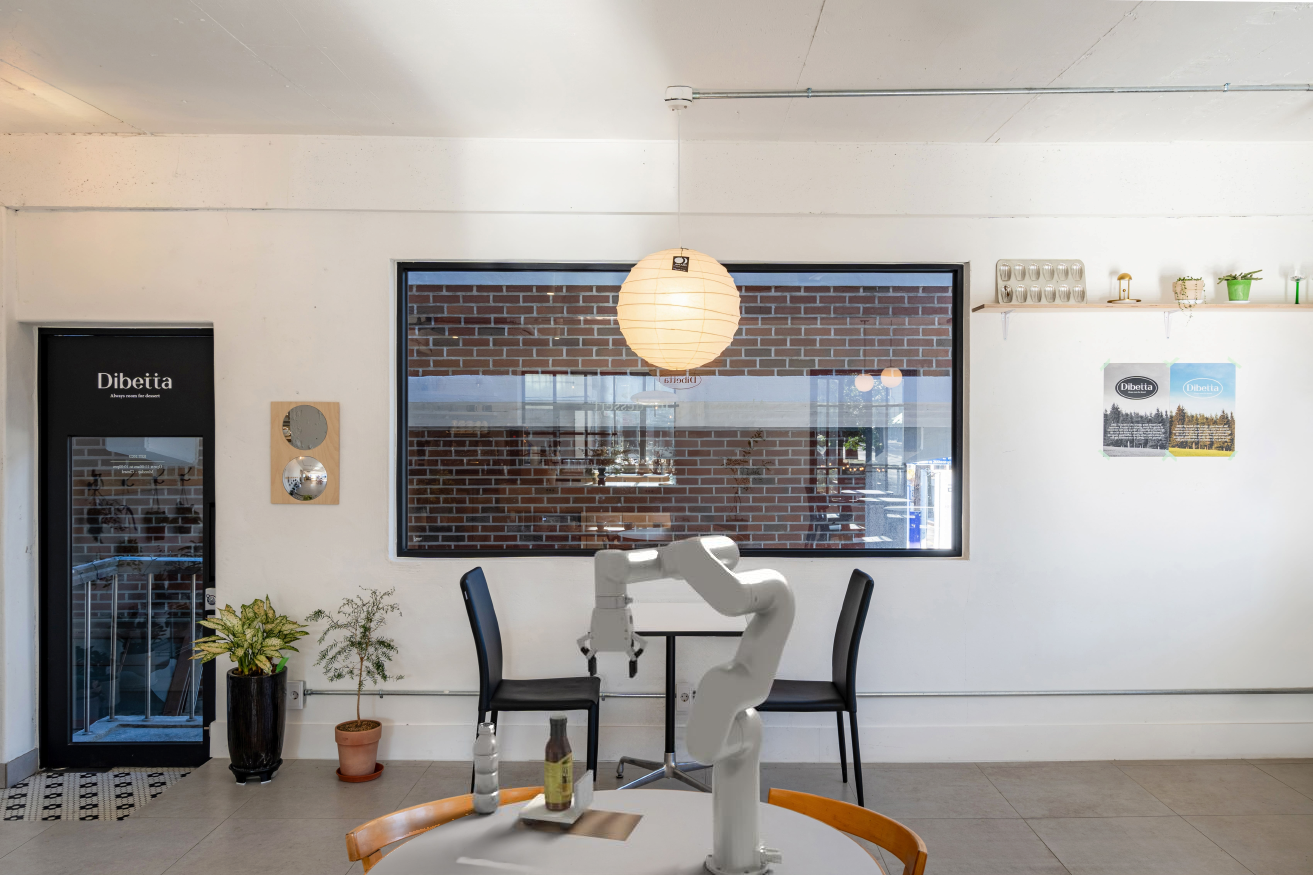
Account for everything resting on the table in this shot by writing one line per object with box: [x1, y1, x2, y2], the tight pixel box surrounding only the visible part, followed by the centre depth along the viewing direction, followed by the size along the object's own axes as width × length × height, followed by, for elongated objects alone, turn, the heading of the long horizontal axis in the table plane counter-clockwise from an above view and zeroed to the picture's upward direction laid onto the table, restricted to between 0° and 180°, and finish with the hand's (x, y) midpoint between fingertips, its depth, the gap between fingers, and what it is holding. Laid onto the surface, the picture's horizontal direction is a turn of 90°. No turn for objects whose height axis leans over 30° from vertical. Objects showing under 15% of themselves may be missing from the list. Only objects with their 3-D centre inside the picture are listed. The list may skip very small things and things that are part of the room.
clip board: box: [514, 808, 645, 842], centre depth 177 cm, size 26×13×1 cm, turn 74°
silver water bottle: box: [472, 721, 501, 814], centre depth 186 cm, size 6×7×20 cm
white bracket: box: [517, 769, 594, 830], centre depth 179 cm, size 14×11×10 cm
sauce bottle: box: [544, 714, 573, 811], centre depth 179 cm, size 6×6×20 cm
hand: (612, 676), depth 185 cm, fingers open, 9 cm apart
